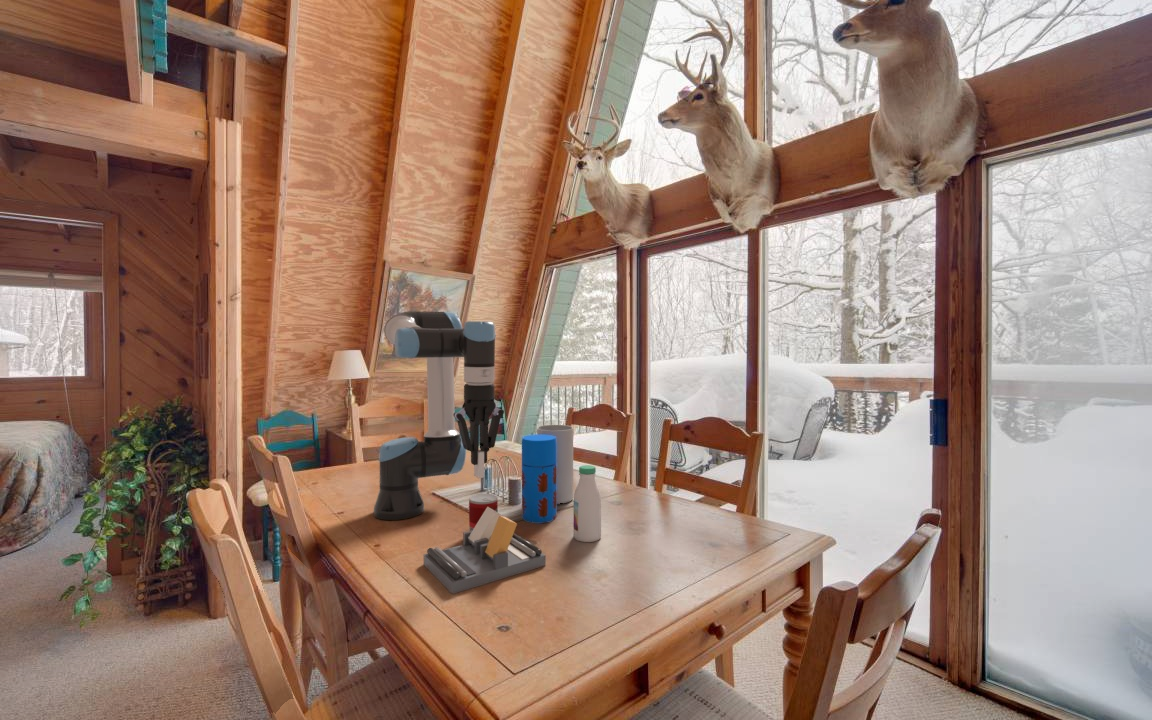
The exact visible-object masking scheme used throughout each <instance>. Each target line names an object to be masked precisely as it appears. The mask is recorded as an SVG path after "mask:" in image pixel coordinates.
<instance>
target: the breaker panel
mask: <svg viewBox="0 0 1152 720" xmlns="http://www.w3.org/2000/svg"><path fill="white" fill-rule="evenodd" d="M472 531H473V530H471V531H469V530H466V531H463V532H462V544H460V545H456V546H453V547H449V548H445V549H441V548H440V547H438V546H437V547H434V548H433V547H429V548H427V550H426V553H425V554H423V565H424V567H426V569H427V570H428V571H429V572H430V573H431V574H432V575H433V576H434V577H435V578H436V579H437V580H438V582H440V583H441V584H442V586H444V587H445V588H446V589H447V590H448V591H449V592H450V593H451V594H452V595H454V594H457V593H460V592H464V591H467V590H471V589H473V588H474V589H475V588H477V587H479V586H484V585H487V584H490V583H492V582H496V581H500V580H502V579H503V580H504V579H506V578H510V577H513V576H515V575H518V574H522V573H525V572H528V571H532V570H535V569H537V568H542V567H545V566H546V564H547V563H546V561H547V559H546V554H544V553H543V551H542V549H541V548H539V547H537V546H536V545H534V544H533V543H532V542H530V541H528V540H527V539H525V538H524V537H521V536H520V535H518V534H516V533H515V532H514V534H513V536H512V539H511V541H510V544H509V547H508V549H507V552H506V551H504V552H500V553H497V554H493V560H491V559H490V558H489V557H488V556H486V553H485V551H486V548H487V545H488V543H489V540H490V538H489V540H488V539H487V538H483V539H479V540H475V541H474V546H475V547H474V546H473V545H472V544H470V543H469V538H468V537H469V536H470V534H471V532H472Z"/></svg>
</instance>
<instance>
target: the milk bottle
mask: <svg viewBox="0 0 1152 720" xmlns="http://www.w3.org/2000/svg"><path fill="white" fill-rule="evenodd" d="M596 471H597V468H596V466H595V465H589V464H588V465H587V464H585V465H580V466H579V468H578V472H579V473H578V475H579V480H578V483H577V486H576V488H575V490H574V492H573V538H574V539H575V540H576V541H578V542H581V543H591V542H592V543H593V542H597V541H599V540H600V539H601V537H602V499H601V498H602V495H601V492H600V488H599V486H598V484H597V481H596V477H595V476H596Z"/></svg>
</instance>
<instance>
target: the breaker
mask: <svg viewBox="0 0 1152 720" xmlns="http://www.w3.org/2000/svg"><path fill="white" fill-rule="evenodd" d="M499 515H500V516H503V514H501V513H500V512H496V511H494V510H493V509H491V508H489V507H487V508H486V510H485V511H484V513H483V515H482V516H481V518H480V519H479V521H478V523H477V524H476V526H475V527H474V529H473V531H472V532H471V534H470V536H469V537H468V538H469V543H470V544H472V545H473V546H474V541H475V540H479V539H483V538H487V539H488V540H489V538H490V537H491V535H492V533H493V530H494V528H495V525H496V523H497V520H498V517H499ZM474 547H475V546H474Z"/></svg>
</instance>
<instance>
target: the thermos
mask: <svg viewBox="0 0 1152 720" xmlns="http://www.w3.org/2000/svg"><path fill="white" fill-rule="evenodd" d="M556 462H557V441H556V437H555V436H552V435H537V434H527V435H525V436H522V438H521V510H522V511H521V512H522V520H524V521H525V522H528V523H532V524H542V523H543V524H544V523H549V522H553V521H554V520H555V519H556V518H557V507H558V506H557V505H558V504H557V463H556Z"/></svg>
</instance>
